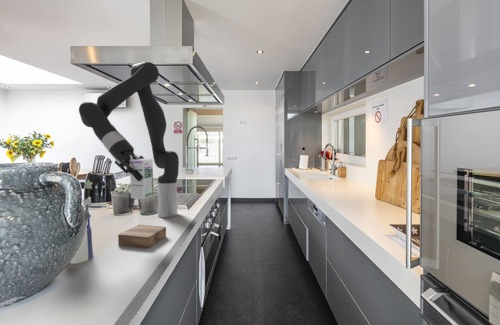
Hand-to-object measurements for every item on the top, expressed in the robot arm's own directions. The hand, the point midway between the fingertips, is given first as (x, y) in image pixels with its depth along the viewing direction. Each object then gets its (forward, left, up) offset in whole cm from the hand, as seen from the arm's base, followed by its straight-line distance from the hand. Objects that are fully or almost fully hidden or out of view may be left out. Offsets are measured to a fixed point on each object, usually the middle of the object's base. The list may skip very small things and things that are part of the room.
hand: (146, 178), depth 96 cm
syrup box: (0, -2, -7) cm, 8 cm away
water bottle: (+18, -12, -24) cm, 33 cm away
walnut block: (0, -1, -24) cm, 24 cm away
